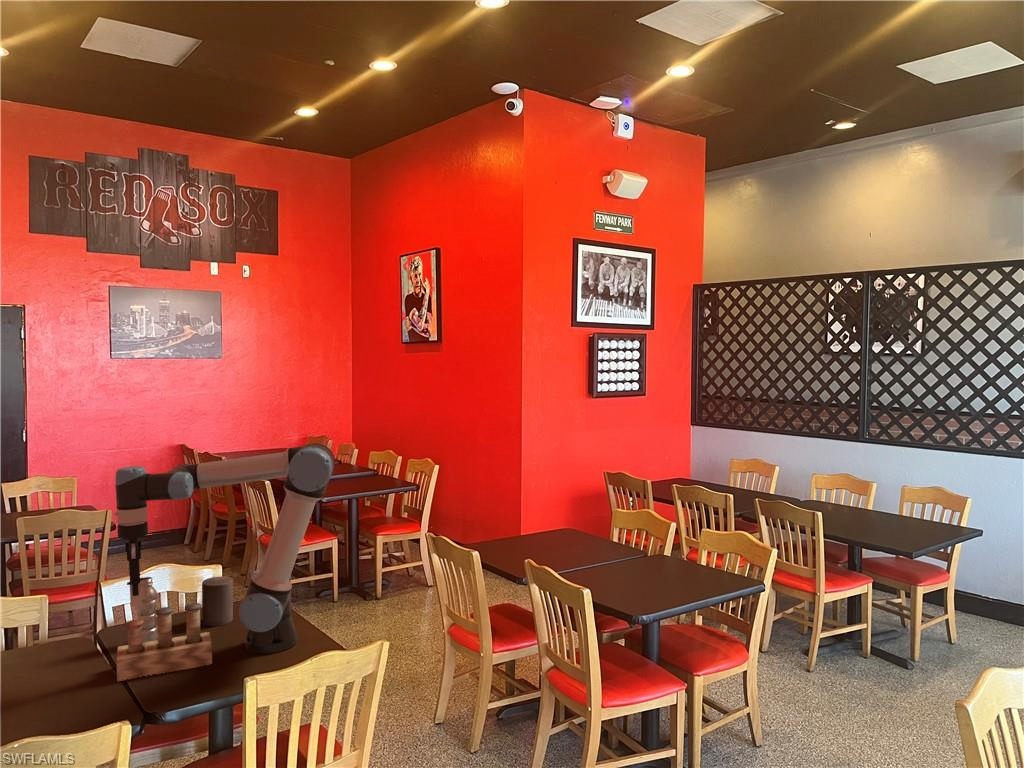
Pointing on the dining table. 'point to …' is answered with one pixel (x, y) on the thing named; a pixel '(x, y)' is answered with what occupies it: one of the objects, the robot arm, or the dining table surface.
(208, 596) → the pillar candle
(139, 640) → the plug terracotta
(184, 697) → the dining table surface
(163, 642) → the plug middle
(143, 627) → the plastic bottle
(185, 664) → the socket block
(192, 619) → the plug left
